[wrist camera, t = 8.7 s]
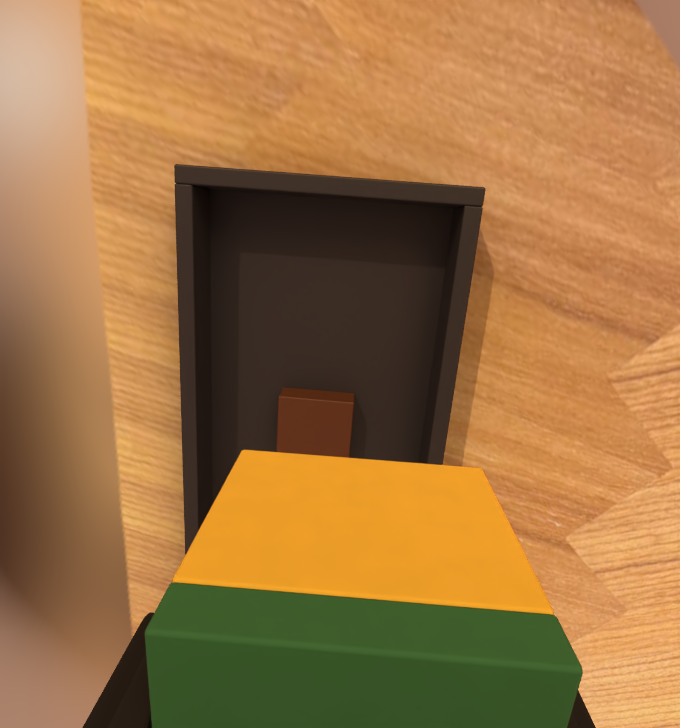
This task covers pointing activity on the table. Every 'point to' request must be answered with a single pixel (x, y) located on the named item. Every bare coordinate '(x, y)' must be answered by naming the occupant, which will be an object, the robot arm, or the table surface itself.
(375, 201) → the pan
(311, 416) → the reddish brown block
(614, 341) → the table surface
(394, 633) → the sponge
